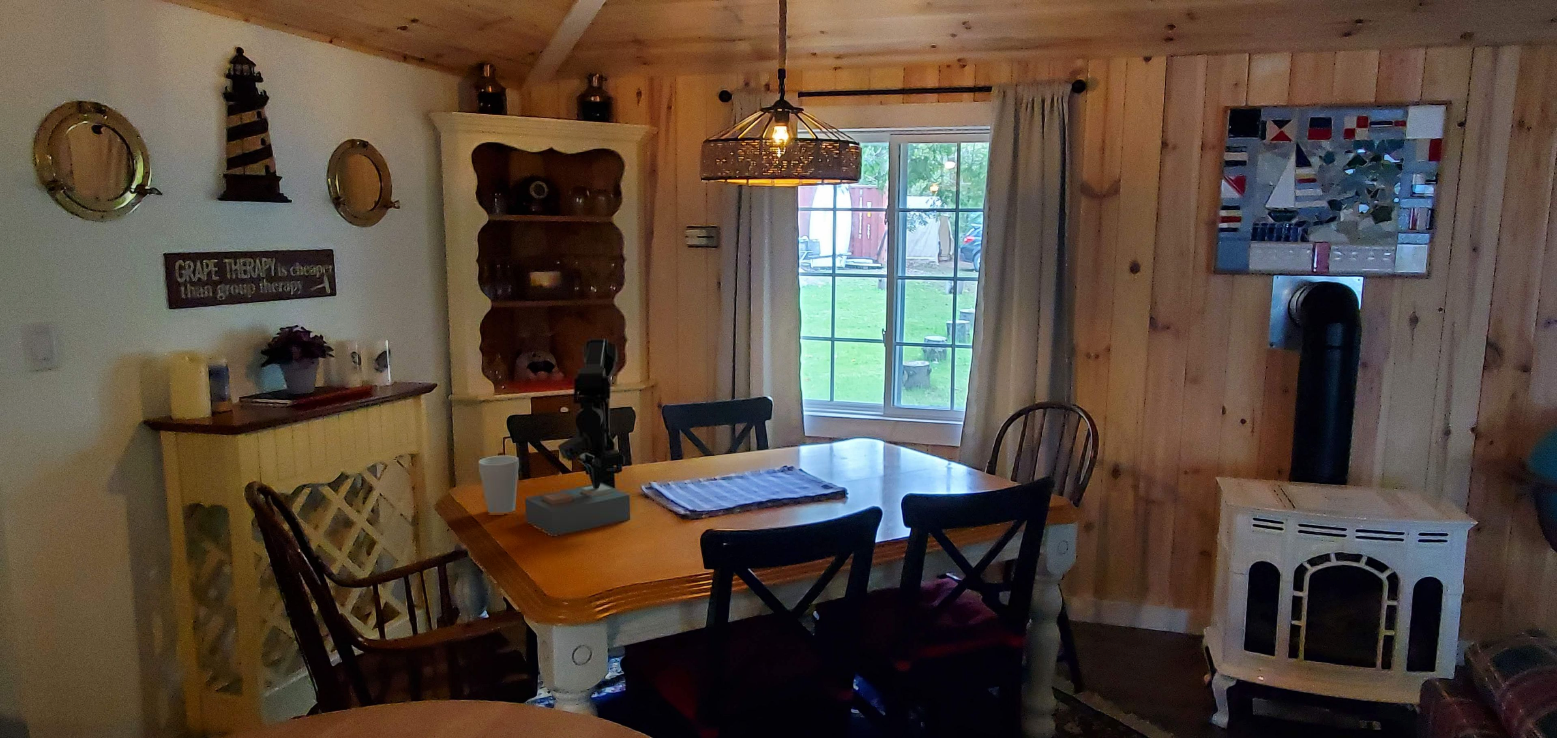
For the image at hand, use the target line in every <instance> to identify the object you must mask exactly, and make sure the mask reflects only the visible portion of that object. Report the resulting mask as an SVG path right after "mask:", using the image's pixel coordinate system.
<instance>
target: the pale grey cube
mask: <svg viewBox="0 0 1557 738" xmlns="http://www.w3.org/2000/svg"><path fill="white" fill-rule="evenodd" d="M582 493H583V494H585V495H587V496H589V497H596V496H600V495H605V494H610V493H611V488H608V487H606V486H604V485H601V484H600V486H599V488H596V489H595V488H593V486H589V487H584V488H582Z"/></svg>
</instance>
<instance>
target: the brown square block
mask: <svg viewBox="0 0 1557 738" xmlns="http://www.w3.org/2000/svg"><path fill="white" fill-rule="evenodd" d="M543 501H544V502H546V503H548V504H550V505H552V506H553V505H558V504H562V503H567V502H572V501H573V498H572V496H571V495H569V494H566V493H564V492H559V493H554V494H549V495H544V496H543Z"/></svg>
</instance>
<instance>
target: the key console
mask: <svg viewBox="0 0 1557 738" xmlns="http://www.w3.org/2000/svg"><path fill="white" fill-rule="evenodd" d="M601 485H604V486H606V487H608V488H611V493H610V494H605V495H600V496H596V497H589V496H587V495H585V494H583V493H582V488H584V487H589V486H593V485H592V484H588V485H583V486H578V487H573V488H568V489H563V490H559V491H552V492H548V493H543V494H538V495H533V496H529V497H528V496H527V497H524V505H525V507H524V508H525V521H527V522H529V523H530V524H533V525H534V526H536V527H538V528H540V529H541V530H544V531H545V532H547V533H549V534H550V535H552V536H555V535H560V536H562V535H561V534H565V533H569V534H571V533H570V532H573V533H577V532H576V531H578V532H581V531H580V530H582V531H586V530H589V529H590V530H591V529H594V528H598V527H603V526H607V525H612V524H617V523H620V522H624V521H628V520H631V503H630V500H631V499H630V496H631V495H630V494H629V493H626V492H623V491H622V490H619V489H616V487H615V488H612V487H610V486H607V485H605V484H603V483H601ZM559 492H564V493H566V494H569V495H571V496H572V498H573V501H572V502H567V503H562V504H558V505H553V506H552V505H550V504H548V503H546V502H544V501H543V496H544V495H549V494H554V493H559ZM530 524H529V525H530ZM534 526H533V527H534ZM541 530H540V531H541ZM550 535H549V536H550ZM565 535H566V534H565Z"/></svg>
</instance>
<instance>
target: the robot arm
mask: <svg viewBox="0 0 1557 738" xmlns="http://www.w3.org/2000/svg"><path fill="white" fill-rule="evenodd" d="M582 349H583V350H582V353H583V354H582V356H583V357H582V360H583V361H584V363H585V364H584V366H583V367H581V368H579V369H578V372H577V376H575V377H574V383H573V405H579V406H580V409H579V411H578V413H577V415H576V417H575V425H576V428H577V430H576V435H575V436H574V437H571V438H568V440H566V441H564V442H562V443H560V444H558V446H557V448H558V450H559V453H560V455H561V457H562V459H566V460H567V461H569V462H571V461H574V460H576V459H577V461H578V462H579V463H581V464H582V465H584V467H585V470H584V471H585V475H586V476H587V475H588V476H589V479H590V483H591V485H593V488H595V489H596V488H599V486H600V484H601V483H603V484H605V485H607V486H610V487H612V488H615V489H616V476H615V474H620V473H623V465H624V464H625V463H626V462H625V455H624V454H623V453H622V452H621V451H619V450H618V449H617V444H616V443H615V441H614V439H613V437H612V436H611V432H610V431H611V428H610V427H611V426H610V425H611V423H610V420H611V418H610V417H611V415H610V412H611V411H610V409H611V408H610V406H611V405H610V403H611V402H610V399H611V387H612V386H611V385H612V384H611V383H612V382H611V380H610V379H611V377H612V376H613V374H614V372H615V371H616V363H618V361H619V360H618V359H619V358H618V357H619V356H618V348H617V345H616V344H614V343H612V342H610V341H609V340H608V339H605V338H590V339H587V341H586V343H585V344H584V345H583V348H582ZM578 457H579V458H578Z"/></svg>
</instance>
